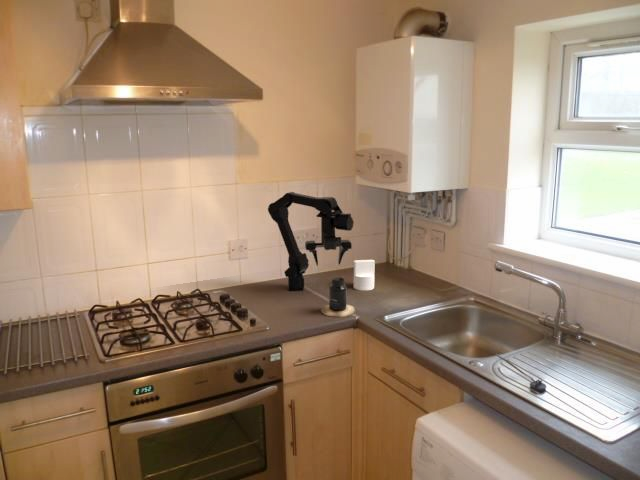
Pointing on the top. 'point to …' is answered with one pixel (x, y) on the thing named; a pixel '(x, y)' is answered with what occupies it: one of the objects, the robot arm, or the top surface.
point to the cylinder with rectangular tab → (364, 274)
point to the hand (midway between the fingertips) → (328, 264)
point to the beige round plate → (346, 312)
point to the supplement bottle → (337, 295)
